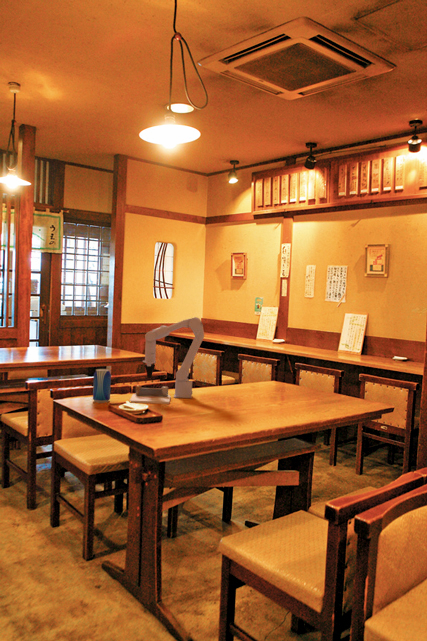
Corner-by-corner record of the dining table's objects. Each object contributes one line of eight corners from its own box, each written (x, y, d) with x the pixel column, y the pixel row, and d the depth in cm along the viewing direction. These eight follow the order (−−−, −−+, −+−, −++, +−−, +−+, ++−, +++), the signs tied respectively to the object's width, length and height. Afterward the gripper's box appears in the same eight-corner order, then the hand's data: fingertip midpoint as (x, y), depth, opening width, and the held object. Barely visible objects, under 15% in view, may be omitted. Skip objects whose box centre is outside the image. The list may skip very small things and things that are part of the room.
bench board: (170, 396, 272) (170, 394, 272) (169, 403, 254) (169, 401, 254) (133, 395, 271) (133, 393, 271) (129, 402, 253) (129, 400, 253)
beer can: (107, 403, 248) (109, 371, 248) (90, 402, 248) (92, 370, 248) (111, 400, 257) (112, 369, 256) (95, 399, 257) (96, 368, 256)
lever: (168, 395, 270) (168, 386, 270) (167, 396, 266) (168, 387, 266) (135, 393, 269) (136, 385, 269) (135, 395, 265) (135, 386, 265)
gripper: (144, 351, 282) (143, 375, 282) (141, 354, 267) (140, 379, 268) (156, 351, 282) (155, 375, 283) (155, 354, 268) (154, 380, 268)
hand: (149, 377), depth 275 cm, fingers closed
